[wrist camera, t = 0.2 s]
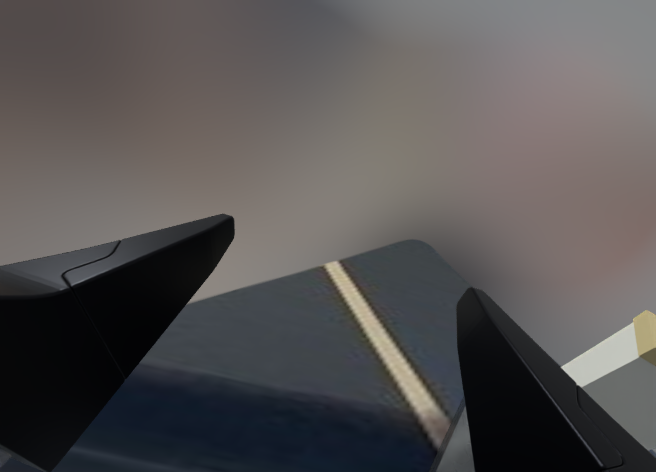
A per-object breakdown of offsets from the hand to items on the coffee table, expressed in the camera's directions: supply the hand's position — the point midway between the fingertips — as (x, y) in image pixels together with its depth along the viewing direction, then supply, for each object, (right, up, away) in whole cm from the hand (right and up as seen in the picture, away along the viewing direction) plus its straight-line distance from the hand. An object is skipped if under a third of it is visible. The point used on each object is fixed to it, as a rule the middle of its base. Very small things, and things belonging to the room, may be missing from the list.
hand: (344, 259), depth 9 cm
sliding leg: (+15, -15, +9) cm, 23 cm away
